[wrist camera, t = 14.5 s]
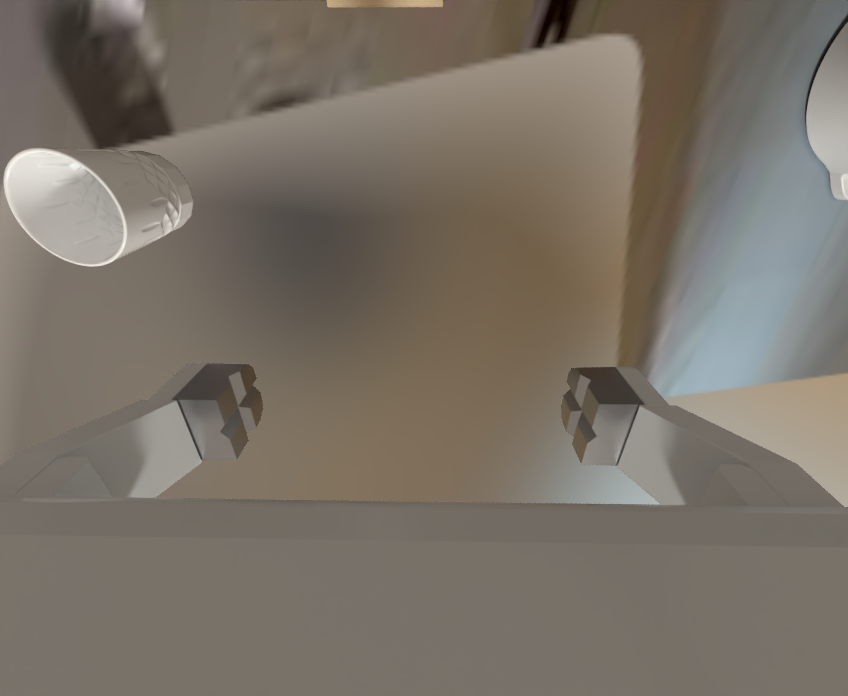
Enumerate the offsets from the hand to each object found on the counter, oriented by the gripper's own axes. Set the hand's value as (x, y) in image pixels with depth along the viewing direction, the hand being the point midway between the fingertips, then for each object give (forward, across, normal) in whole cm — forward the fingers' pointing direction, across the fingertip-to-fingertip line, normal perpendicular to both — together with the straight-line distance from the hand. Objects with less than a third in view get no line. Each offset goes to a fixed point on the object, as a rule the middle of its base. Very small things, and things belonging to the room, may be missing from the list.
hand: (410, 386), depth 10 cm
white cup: (+29, +25, -1) cm, 39 cm away
